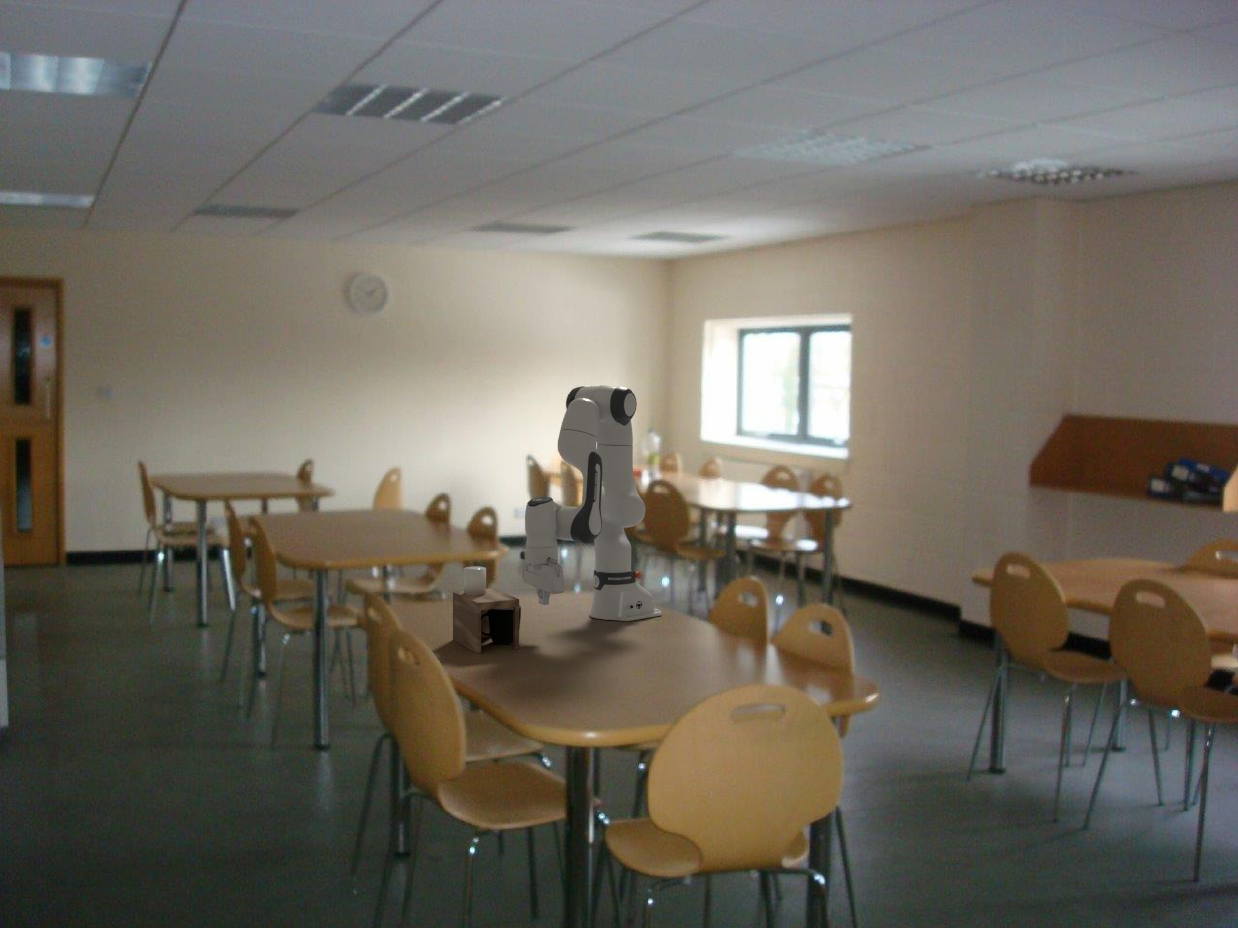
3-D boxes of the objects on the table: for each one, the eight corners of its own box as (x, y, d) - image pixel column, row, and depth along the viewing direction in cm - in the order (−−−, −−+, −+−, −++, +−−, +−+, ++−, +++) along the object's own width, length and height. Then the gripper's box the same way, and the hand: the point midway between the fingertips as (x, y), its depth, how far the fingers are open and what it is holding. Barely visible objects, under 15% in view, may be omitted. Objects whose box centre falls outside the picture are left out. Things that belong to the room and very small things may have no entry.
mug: (516, 638, 326) (517, 602, 325) (523, 645, 318) (524, 608, 317) (474, 640, 323) (474, 604, 322) (480, 647, 314) (480, 610, 313)
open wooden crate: (493, 635, 329) (493, 588, 328) (519, 648, 313) (519, 599, 312) (453, 639, 323) (453, 591, 322) (477, 653, 308) (477, 602, 307)
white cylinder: (480, 590, 324) (481, 565, 324) (489, 594, 319) (489, 569, 318) (460, 592, 321) (460, 567, 321) (468, 596, 316) (468, 570, 315)
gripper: (569, 559, 317) (571, 609, 319) (536, 549, 335) (538, 596, 336) (548, 562, 314) (550, 612, 316) (516, 551, 332) (518, 599, 333)
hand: (544, 604), depth 326 cm, fingers closed
